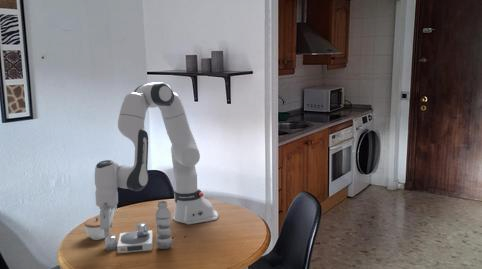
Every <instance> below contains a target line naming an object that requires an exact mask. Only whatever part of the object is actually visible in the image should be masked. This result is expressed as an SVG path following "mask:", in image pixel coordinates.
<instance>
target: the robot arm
mask: <svg viewBox="0 0 482 269" xmlns="http://www.w3.org/2000/svg"><path fill="white" fill-rule="evenodd" d="M149 108H159V110H160V114H161V117H162V120H163V124H164V127H165V130H166V134H167V136H168V139H169V140H170V143H171V148H170V153H171V161H172V170H173V173H174V192H173V196H174V203H175V205H174V212H173V217H172V219H173V220H174V221H175V222H178V223H183V224H186V225H193V224H198V223H204V222H211V221H216V220H218V218H219V213H218V212H217V210H215V209H214V206H213V204H212V201H209V200H208V199H207V198H205V197H204V193H203V191H202V190H201V189H200V188H199V189H198V174H197V169H196V165H197V164H198V163H199V161H200V158H201V155H200V154H201V153H200V151H199V148H198V145H197V143H196V140H195V138H194V135H193V132H192V130H191V128H190V124H189V120H188V118H187V113H186V111H185V108H184V105H183V103H182V100H181V99H180V95H179V94H177V93H176V92H174V91H173V89H172V87H171V86H170V85H169V84H168V83H166V82H162V81H158V82H149V83H146V84H142V85H140V86H138V87H135V89H134V91H133V92H129V93H126V95H125V96H124V98H123V101H122V104H121V107H120V110H119V115H118V120H117V128H118V130H119V132H120V134H122V136H124V137H126V138H127V139H128V140H130V141H131V142H132V143H133V145H134V159H133V160H134V162H133V166H131V165H125V164H119V163H117V162H115V161H114V160H111V159H110V160H109V159H104V160H101V161H99V162H97V164H96V165H95V168H94V185H95V193H94V194H95V195H94V196H95V205H96V206H97V207H98V208H99V209H100V210H99V217H100V228H101V229H103V230H104V235H105V236H109V235H110V229H111V228H112V227H113V218H114V217H115V216H114V215H115V214H116V213H115V212H116V205H118V203H119V192H118V188H121V189H128V190H131V191H135V192H140V191H142V190H143V189H145V187H146V186H147V185H148V182H149V172H148V162H149V161H148V160H149V158H148V156H149V134H148V132H147V131H146V128H145V119H146V114H147V110H148V109H149ZM109 228H110V229H109Z"/></svg>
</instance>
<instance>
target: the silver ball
mask: <svg viewBox="0 0 482 269" xmlns="http://www.w3.org/2000/svg"><path fill="white" fill-rule="evenodd" d="M135 229H136V230H135V231H137V237H138V238H145V237H147V236H148V231H149V224H148V223H147V222H139V223H137V224H136V226H135Z"/></svg>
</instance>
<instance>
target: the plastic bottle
mask: <svg viewBox="0 0 482 269" xmlns="http://www.w3.org/2000/svg"><path fill="white" fill-rule="evenodd" d="M154 218H155V222H156V223H155V224H156V240H155V245H156V247H157V248H158V249H160V250H167V249H170V248H171V247H172V244H173V239H172V234H171V218H172V212H171V211H170V209H169V208H168V202H167V200H166V201H165V200H160V201H158V202H157V210H156V212H155V214H154Z"/></svg>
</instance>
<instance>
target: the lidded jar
mask: <svg viewBox="0 0 482 269" xmlns="http://www.w3.org/2000/svg"><path fill="white" fill-rule="evenodd" d="M84 228H85V232H86V234H87V236H88V237H89V238H90V239H91V240H93V241H99V240H104V239H105V237H106V236H105V235H104V230H103V229H101V228H100V216H96V217H91V218H88V219H87V220H85V222H84ZM110 229H111V228H109V230H110Z"/></svg>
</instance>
